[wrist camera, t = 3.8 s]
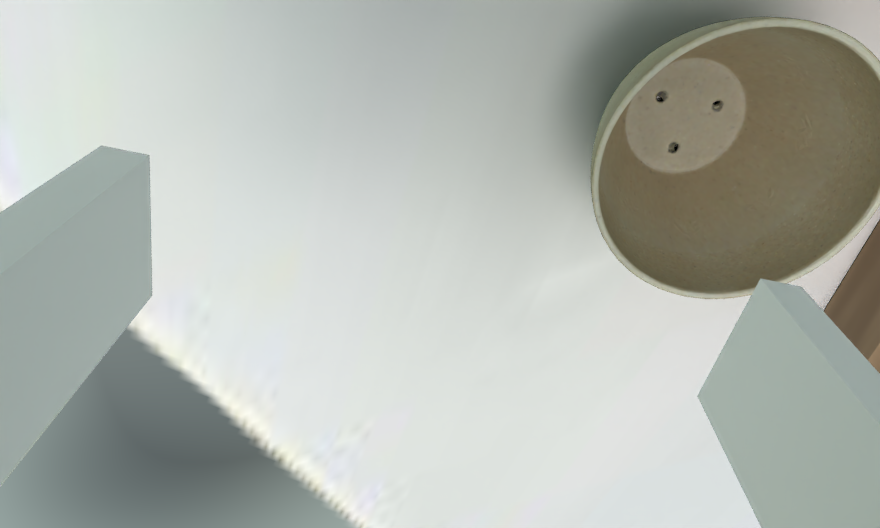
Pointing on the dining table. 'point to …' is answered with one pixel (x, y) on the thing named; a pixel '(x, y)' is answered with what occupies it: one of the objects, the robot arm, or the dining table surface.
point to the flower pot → (739, 156)
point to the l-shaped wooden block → (861, 301)
